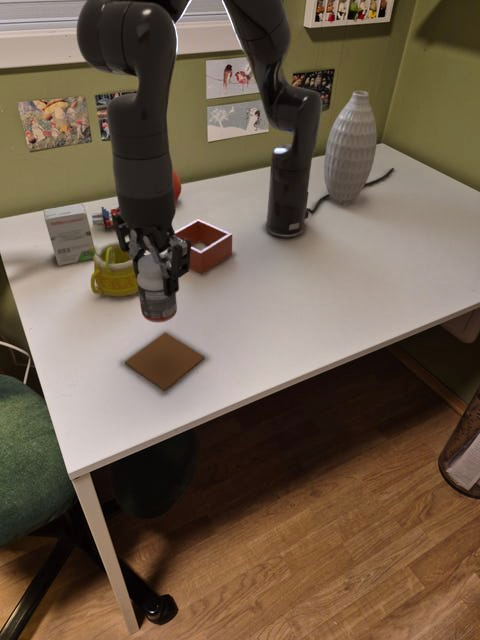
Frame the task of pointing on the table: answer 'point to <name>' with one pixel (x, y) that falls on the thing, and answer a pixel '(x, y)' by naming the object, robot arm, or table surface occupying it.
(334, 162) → the vase
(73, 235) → the ink box
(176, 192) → the red egg-shaped piece
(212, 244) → the planter
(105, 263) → the mug
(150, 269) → the pill bottle
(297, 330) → the table surface
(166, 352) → the cork pad
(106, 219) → the figurine
